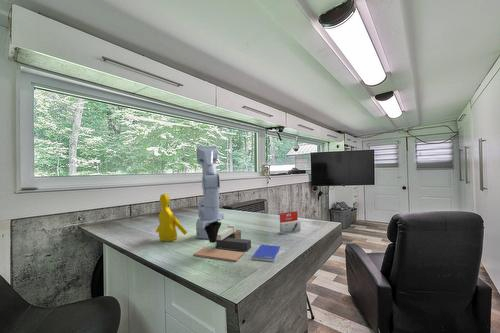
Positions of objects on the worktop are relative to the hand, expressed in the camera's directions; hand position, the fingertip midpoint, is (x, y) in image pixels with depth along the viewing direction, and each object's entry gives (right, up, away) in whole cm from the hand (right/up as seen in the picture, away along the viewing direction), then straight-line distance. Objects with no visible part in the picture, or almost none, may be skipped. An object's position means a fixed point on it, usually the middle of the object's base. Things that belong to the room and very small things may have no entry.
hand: (212, 242), depth 81 cm
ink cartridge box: (+35, -4, +26) cm, 44 cm away
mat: (+2, -5, 0) cm, 5 cm away
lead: (+7, -5, +7) cm, 11 cm away
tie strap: (+4, -1, +10) cm, 11 cm away
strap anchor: (+7, -5, +16) cm, 18 cm away
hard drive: (+21, -5, -1) cm, 21 cm away
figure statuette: (-24, -6, +20) cm, 32 cm away
